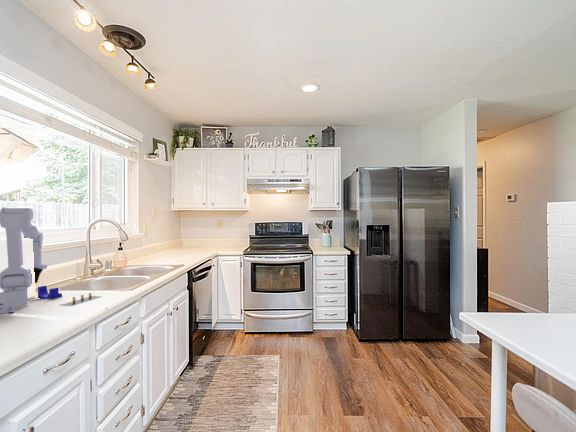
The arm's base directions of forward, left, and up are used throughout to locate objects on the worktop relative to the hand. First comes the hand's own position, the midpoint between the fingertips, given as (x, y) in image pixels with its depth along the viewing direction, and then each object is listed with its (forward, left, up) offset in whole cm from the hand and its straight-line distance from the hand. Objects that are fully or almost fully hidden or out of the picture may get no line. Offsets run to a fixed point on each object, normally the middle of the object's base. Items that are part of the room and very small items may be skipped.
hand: (34, 282), depth 152 cm
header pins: (-3, -35, -6) cm, 35 cm away
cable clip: (-1, -12, -7) cm, 14 cm away
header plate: (-3, -34, -7) cm, 35 cm away
